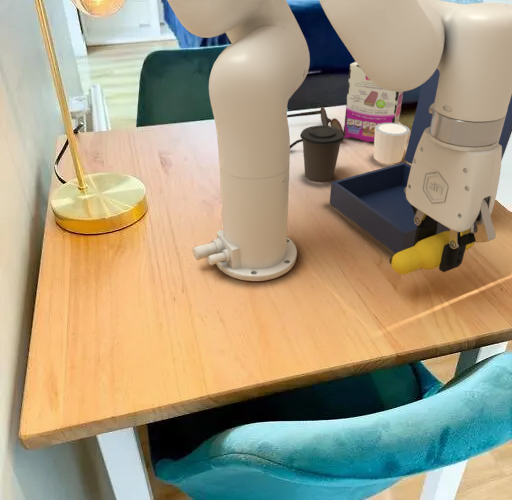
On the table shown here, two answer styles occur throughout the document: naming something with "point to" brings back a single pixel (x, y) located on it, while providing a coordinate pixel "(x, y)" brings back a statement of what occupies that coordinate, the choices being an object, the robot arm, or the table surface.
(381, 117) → the candy bar box
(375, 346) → the table surface
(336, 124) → the eyeglasses
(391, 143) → the white short cylinder
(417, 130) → the lid
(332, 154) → the coffee cup
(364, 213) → the blue shallow open box
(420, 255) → the yellow lobed rod
